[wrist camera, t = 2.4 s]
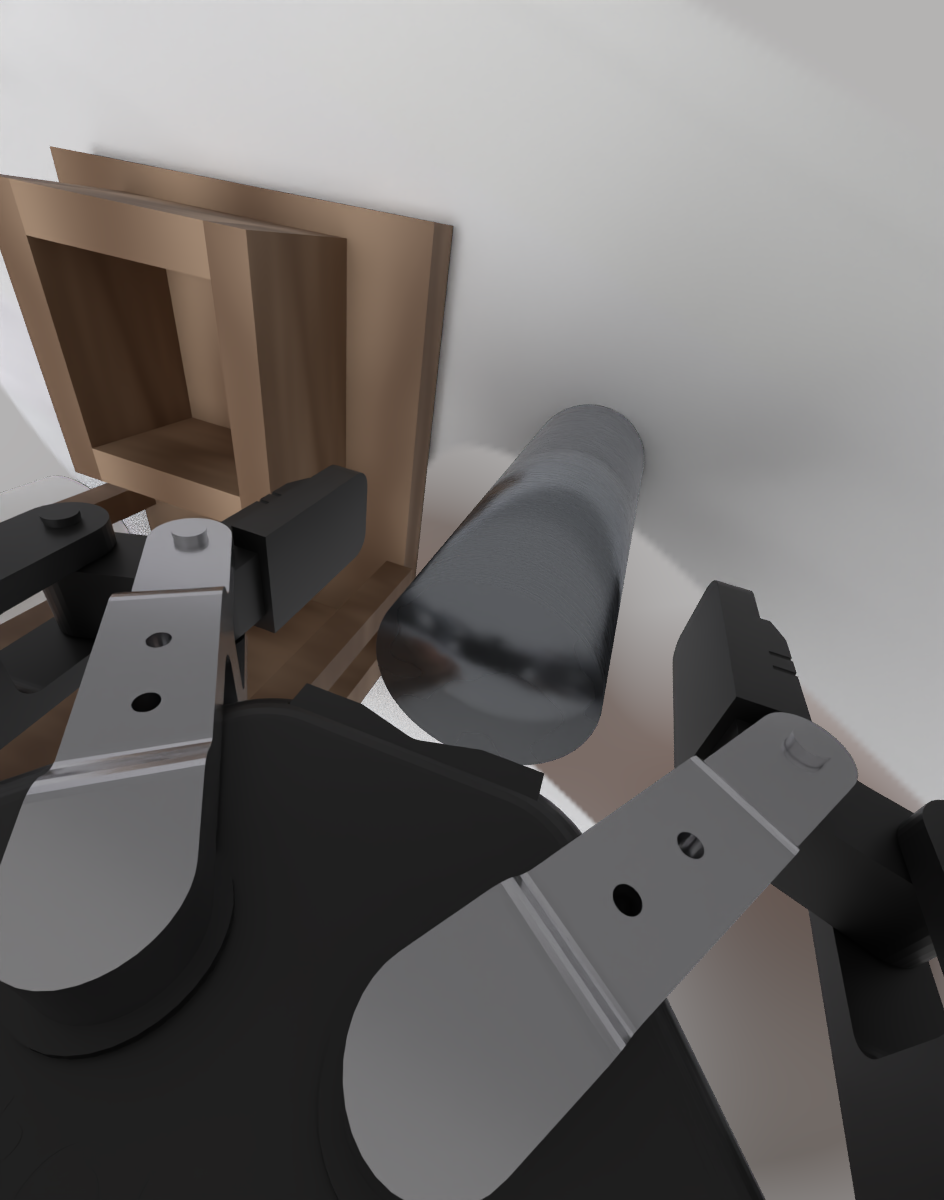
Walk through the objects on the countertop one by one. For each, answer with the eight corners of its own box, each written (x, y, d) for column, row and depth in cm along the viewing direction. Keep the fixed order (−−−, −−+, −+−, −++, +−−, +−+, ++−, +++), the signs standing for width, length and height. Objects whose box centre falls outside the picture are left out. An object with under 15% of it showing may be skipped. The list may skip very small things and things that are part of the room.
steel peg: (662, 421, 16) (640, 633, 7) (621, 528, 19) (564, 794, 9) (546, 391, 17) (381, 547, 8) (520, 498, 19) (371, 717, 10)
